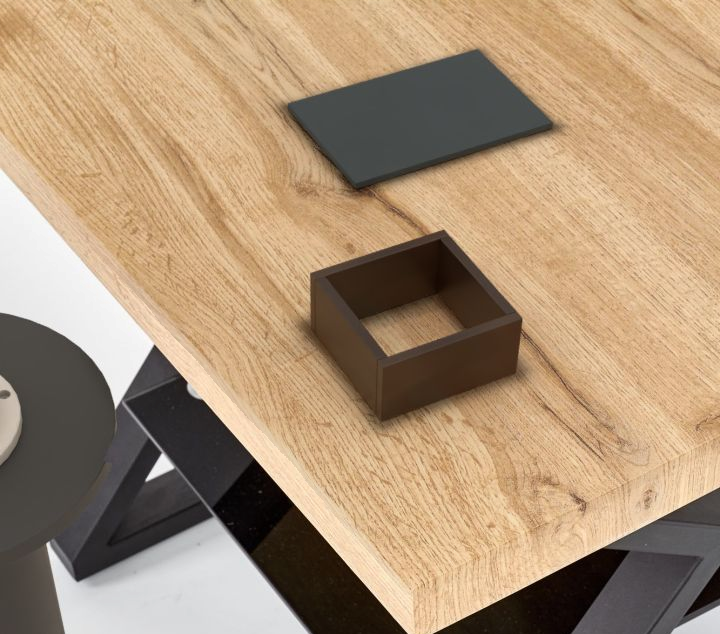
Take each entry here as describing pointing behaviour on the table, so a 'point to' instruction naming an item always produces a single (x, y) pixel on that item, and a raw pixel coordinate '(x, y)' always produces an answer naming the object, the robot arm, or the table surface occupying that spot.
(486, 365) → the frame
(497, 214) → the table surface
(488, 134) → the mat
